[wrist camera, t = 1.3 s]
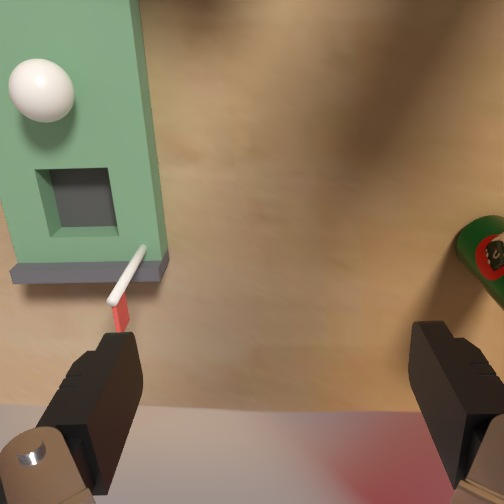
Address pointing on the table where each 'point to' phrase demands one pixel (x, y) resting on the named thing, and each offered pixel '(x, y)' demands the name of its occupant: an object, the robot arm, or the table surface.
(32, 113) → the ball
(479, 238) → the soda can
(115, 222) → the green
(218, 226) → the table surface
